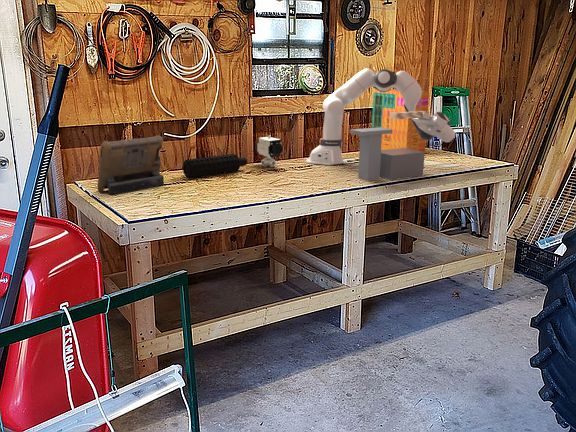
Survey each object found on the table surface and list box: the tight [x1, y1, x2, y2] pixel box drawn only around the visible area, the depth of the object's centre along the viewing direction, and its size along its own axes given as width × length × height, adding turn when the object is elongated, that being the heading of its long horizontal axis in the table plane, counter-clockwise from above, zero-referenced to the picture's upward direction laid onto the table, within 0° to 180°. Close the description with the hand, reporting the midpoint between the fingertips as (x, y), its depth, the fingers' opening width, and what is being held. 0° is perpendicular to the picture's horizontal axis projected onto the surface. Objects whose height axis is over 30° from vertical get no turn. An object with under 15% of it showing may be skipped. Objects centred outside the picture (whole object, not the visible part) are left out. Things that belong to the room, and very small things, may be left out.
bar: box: [390, 111, 427, 119], centre depth 304 cm, size 22×4×3 cm, turn 120°
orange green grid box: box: [371, 88, 430, 153], centre depth 385 cm, size 34×18×40 cm, turn 35°
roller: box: [182, 153, 248, 179], centre depth 309 cm, size 38×10×10 cm, turn 129°
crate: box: [380, 148, 426, 181], centre depth 309 cm, size 23×16×13 cm
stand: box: [349, 127, 392, 182], centre depth 298 cm, size 20×10×26 cm, turn 120°
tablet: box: [97, 135, 165, 196], centre depth 272 cm, size 33×14×25 cm, turn 141°
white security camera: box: [256, 135, 284, 168], centre depth 329 cm, size 18×8×18 cm, turn 35°
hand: (418, 113), depth 308 cm, fingers closed on bar, 4 cm apart
